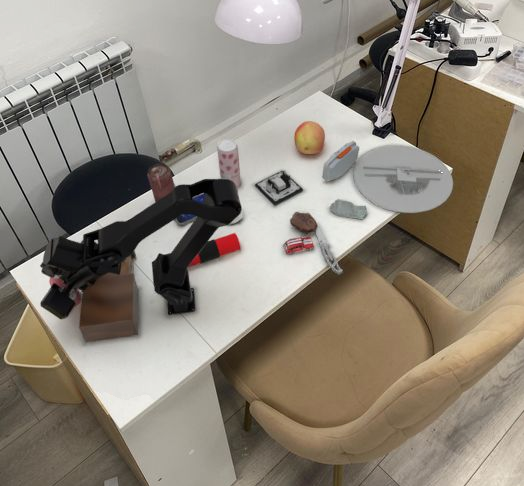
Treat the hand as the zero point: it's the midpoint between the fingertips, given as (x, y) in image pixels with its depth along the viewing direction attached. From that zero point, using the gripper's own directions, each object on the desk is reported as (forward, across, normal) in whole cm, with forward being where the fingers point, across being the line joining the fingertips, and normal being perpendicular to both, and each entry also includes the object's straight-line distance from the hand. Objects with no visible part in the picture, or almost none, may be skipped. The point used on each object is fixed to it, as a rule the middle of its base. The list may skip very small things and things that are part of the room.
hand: (59, 286), depth 129 cm
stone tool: (-38, -49, +46) cm, 78 cm away
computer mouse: (-15, -38, +24) cm, 47 cm away
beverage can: (-13, -48, +22) cm, 55 cm away
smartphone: (-9, -37, +18) cm, 42 cm away
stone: (-29, -38, +39) cm, 62 cm away
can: (-4, -34, +13) cm, 37 cm away
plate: (-46, -64, +56) cm, 97 cm away
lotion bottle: (+2, 0, +4) cm, 5 cm away
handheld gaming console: (-34, -62, +43) cm, 82 cm away
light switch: (-21, -54, +28) cm, 64 cm away
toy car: (-30, -31, +40) cm, 59 cm away
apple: (-29, -64, +32) cm, 77 cm away
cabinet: (-4, 0, +13) cm, 14 cm away
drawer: (-2, -10, +9) cm, 14 cm away
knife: (-37, -33, +45) cm, 67 cm away
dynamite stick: (-22, -27, +27) cm, 44 cm away
